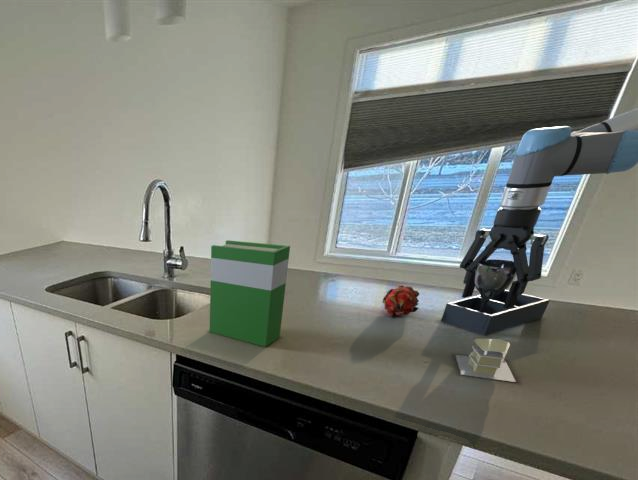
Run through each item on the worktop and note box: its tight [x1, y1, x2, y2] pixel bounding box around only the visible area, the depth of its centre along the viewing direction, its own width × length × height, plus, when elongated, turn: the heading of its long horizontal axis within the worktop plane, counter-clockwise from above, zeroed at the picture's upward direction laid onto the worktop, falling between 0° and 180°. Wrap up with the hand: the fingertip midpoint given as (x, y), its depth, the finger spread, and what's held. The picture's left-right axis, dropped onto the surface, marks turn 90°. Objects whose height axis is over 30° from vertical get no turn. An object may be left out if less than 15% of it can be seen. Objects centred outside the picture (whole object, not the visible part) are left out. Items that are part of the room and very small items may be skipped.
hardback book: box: [209, 239, 291, 348], centre depth 107 cm, size 18×7×24 cm, turn 44°
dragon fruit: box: [382, 285, 420, 317], centre depth 115 cm, size 8×8×12 cm
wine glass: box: [474, 258, 517, 312], centre depth 102 cm, size 8×8×15 cm
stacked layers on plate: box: [455, 338, 516, 383], centre depth 86 cm, size 10×9×6 cm
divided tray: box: [440, 289, 551, 336], centre depth 106 cm, size 11×21×5 cm, turn 110°
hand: (486, 301), depth 103 cm, fingers open, 9 cm apart
